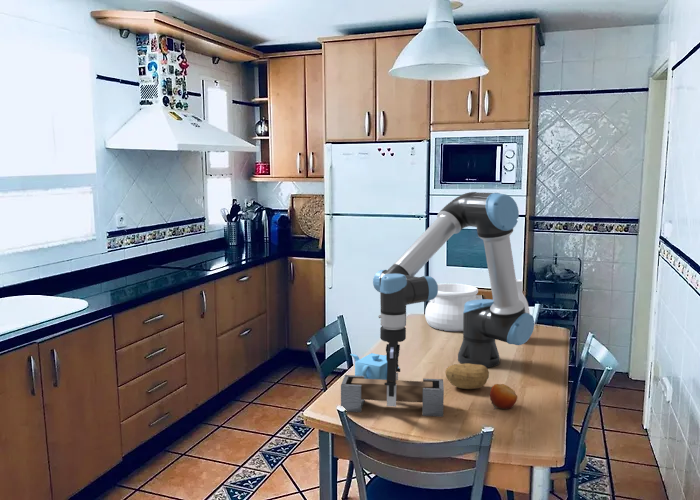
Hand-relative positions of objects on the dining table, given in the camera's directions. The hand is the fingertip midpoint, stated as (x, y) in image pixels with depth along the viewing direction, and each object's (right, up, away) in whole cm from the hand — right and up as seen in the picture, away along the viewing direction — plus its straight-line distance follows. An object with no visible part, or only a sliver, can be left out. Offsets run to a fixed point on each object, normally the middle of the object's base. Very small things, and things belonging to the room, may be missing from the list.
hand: (392, 399), depth 179 cm
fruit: (+33, -3, +1) cm, 34 cm away
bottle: (+56, +7, +69) cm, 89 cm away
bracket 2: (+12, -3, -1) cm, 12 cm away
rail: (0, 0, 0) cm, 0 cm away
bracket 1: (-12, -2, +2) cm, 12 cm away
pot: (+34, +10, +92) cm, 98 cm away
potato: (+25, -1, +16) cm, 30 cm away
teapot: (-5, -1, +17) cm, 18 cm away
